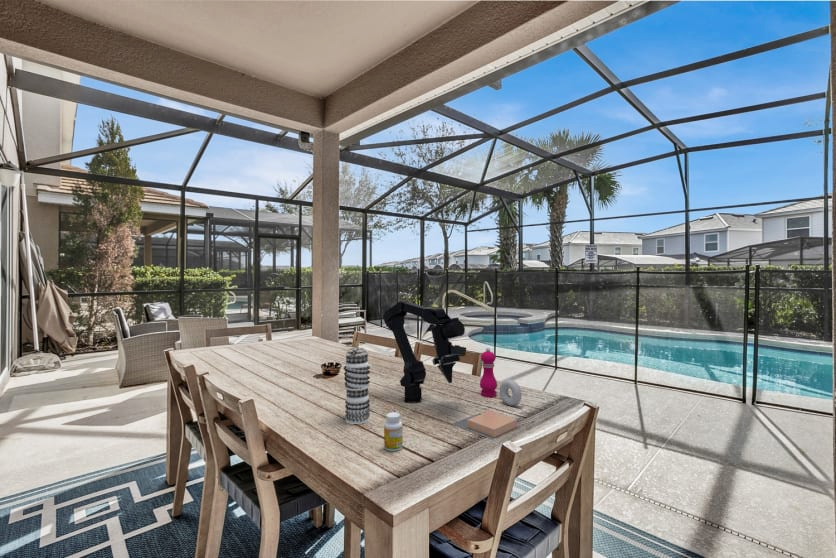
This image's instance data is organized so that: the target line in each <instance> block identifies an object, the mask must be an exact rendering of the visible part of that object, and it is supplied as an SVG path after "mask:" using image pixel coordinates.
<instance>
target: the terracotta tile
mask: <svg viewBox="0 0 836 558" xmlns="http://www.w3.org/2000/svg"><path fill="white" fill-rule="evenodd" d="M517 425H518V420H517V418H514V417H511V416H507V415H504V414H501V413H497V412H495V411H491V410H489V411H486V412H483V413H482V414H480V415H478V416H475V417H473V418H470V419H467V427H468V428H470V429H473V430H476V431H478V432H481V433H483V434H486V435H489V436H491V437H497V436H499V435H501V434H503V433H505V432H507V431H510V430H512V429H514V428H516V427H517ZM512 431H513V430H512ZM510 432H511V431H510ZM497 438H498V437H497Z"/></svg>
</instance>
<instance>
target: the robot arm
mask: <svg viewBox="0 0 836 558" xmlns="http://www.w3.org/2000/svg"><path fill="white" fill-rule="evenodd" d="M408 314H411V315H414V316H416V317H420V318H422V320H423V322H426V323H427V324H429V327H427V330H426V331H427V332H431V336H432V341H433V349H435V350H434V351H435V353H436V354H435V355H436V356H435V357H433V359H432V361H431V362H432V365H433V366H436V365H437V366H436V367H437V368H438V369H439V371H440V372H441V374H442V375H443V377H444V378H445V380H446V381H447V382H448V384H451V383H453V367H454V366H455V365H456V364H457V362H460V361H461V357H466V356H467V355H466V354H467V347H465V346H461V345H459V344H454V345H453V342H452V341H450V340H449V339H454V338H458V337H462V336H463V335H464V334H465V332H466V328H465V325H464V324H463V321H461V320H459V317H454V318H451V317H450V316H449V315H448V313H447V312H446V311H445V309H444V308H443V307H428V306H423V305H421V304H417V303H413V302H411V301H409V300H401V301H398V302H397V303H396V304H395V305H393V306H391V307H390V308H388V309H387V310H385V311H384V313H383V316H382V319H383V322H384V323H385V326H386V327H387V328H388V329H389V330H390V331H391V332H392V333H393V335H394V336H393V337H394V339H395V341H396V344H397V347H398V349H399V352H400V355H401V358H402V360H403V363H404V365H403V376H402V377H401V379H400V380H399V383H400V384H399V385H400V386H401V387H403V388H404V398H403V399H404V400H403V402H404V403H421V400H422V397H423V396H422V395H423V394H422V391H423V390H422V387H421V385H423V384H424V382H425V378H426V376H427V372H426V370H427V369H426V367H425V365H424V362H423V360H418V359H417V358H416V356H415V353H414V351H413V349H412V346H411V343H410V340H409V337H408V335H407V333H406V330H405V327H404V326H405V321H406V320H405V317H406V316H407V315H408Z"/></svg>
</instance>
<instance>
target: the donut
mask: <svg viewBox="0 0 836 558" xmlns="http://www.w3.org/2000/svg"><path fill="white" fill-rule="evenodd" d="M499 385H500V386H499V396H500V398H501V400H502V402H504V403H505V404H506V405H507V406H511V407H515V406H518V405H519V403H520V402H521V399H522V396H523V395H522V390H521V387H520V385H519V383H517V382H516V381H515V380H513V379H508V378H507V379H505V380H503V381H502V382H501V384H499ZM509 389H510V391H511V393H512V395H510V394H509Z"/></svg>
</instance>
